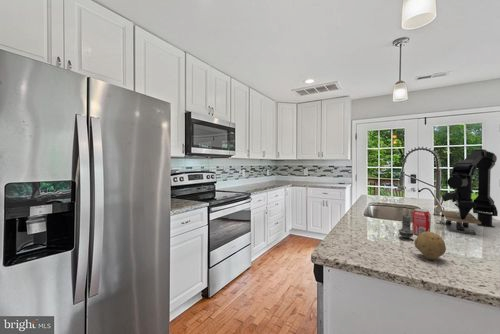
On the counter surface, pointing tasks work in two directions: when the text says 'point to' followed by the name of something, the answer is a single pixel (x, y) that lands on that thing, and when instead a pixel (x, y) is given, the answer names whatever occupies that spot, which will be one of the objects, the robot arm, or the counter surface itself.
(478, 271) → the counter surface
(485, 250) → the counter surface
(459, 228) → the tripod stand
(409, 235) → the dark grey tall piece
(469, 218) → the instrument deck
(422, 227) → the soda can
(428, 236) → the potato
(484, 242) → the counter surface
